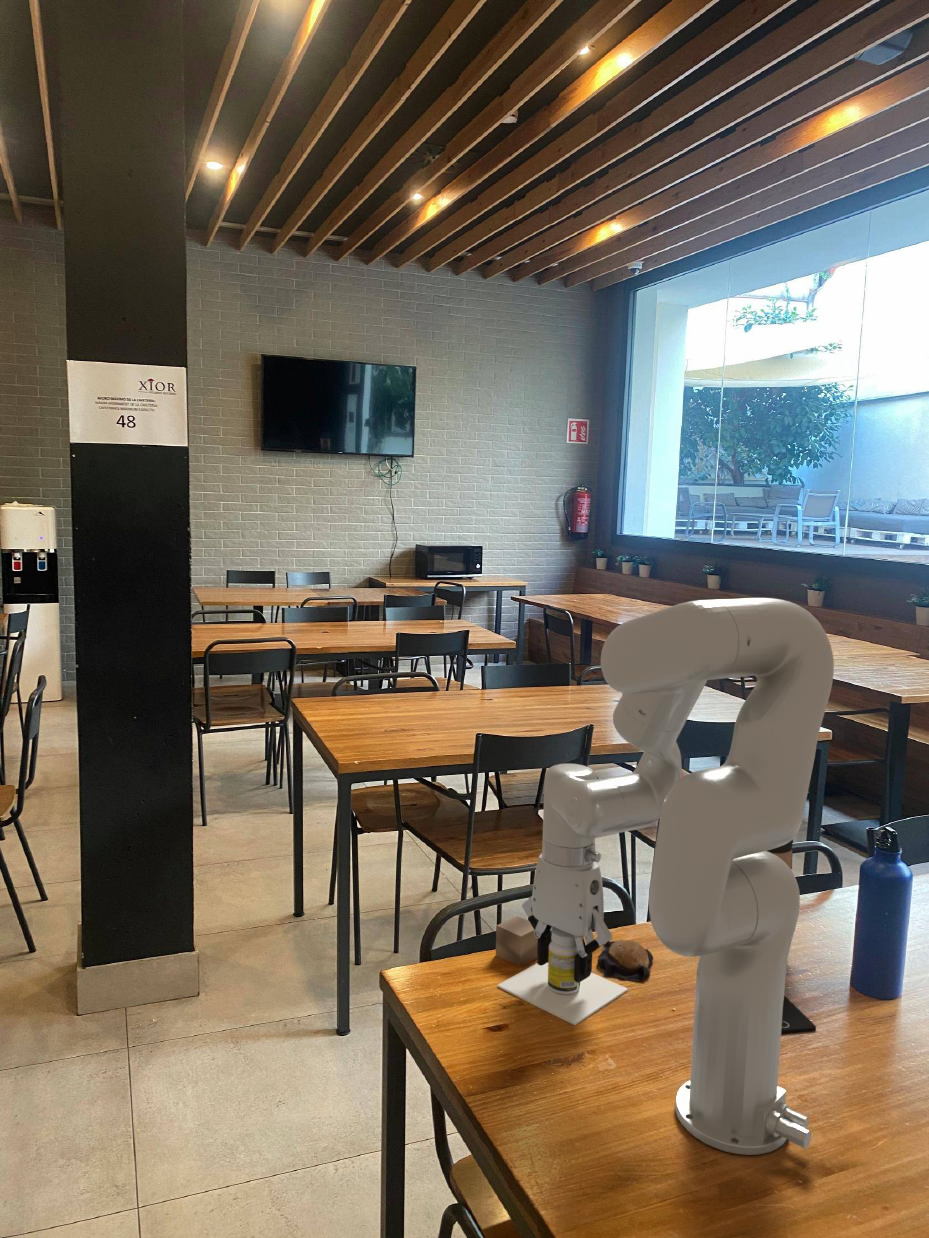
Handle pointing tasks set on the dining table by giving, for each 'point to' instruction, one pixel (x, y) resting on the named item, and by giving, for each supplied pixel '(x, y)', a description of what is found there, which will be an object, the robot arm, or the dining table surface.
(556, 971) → the supplement bottle
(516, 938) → the walnut block
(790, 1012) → the cell phone
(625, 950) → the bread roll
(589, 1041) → the dining table surface
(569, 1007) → the white square tile
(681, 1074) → the dining table surface
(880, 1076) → the dining table surface
